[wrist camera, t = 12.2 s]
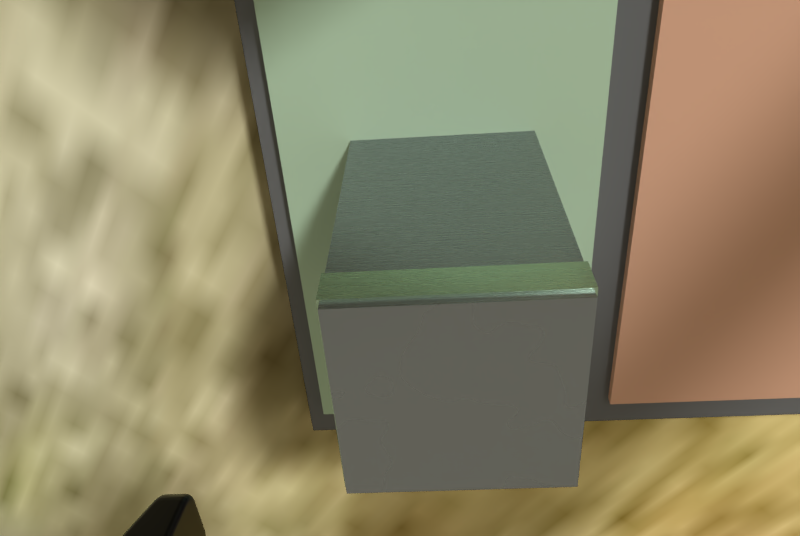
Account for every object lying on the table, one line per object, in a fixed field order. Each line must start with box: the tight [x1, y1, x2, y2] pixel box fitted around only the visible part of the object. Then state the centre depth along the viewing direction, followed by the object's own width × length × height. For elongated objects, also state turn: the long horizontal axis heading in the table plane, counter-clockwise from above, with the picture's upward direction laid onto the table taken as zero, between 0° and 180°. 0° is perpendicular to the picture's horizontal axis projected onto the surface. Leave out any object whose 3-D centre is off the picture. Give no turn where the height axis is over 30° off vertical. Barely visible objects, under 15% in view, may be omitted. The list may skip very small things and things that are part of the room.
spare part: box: [316, 131, 598, 493], centre depth 15 cm, size 5×5×7 cm
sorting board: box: [234, 0, 800, 430], centre depth 19 cm, size 18×16×1 cm
